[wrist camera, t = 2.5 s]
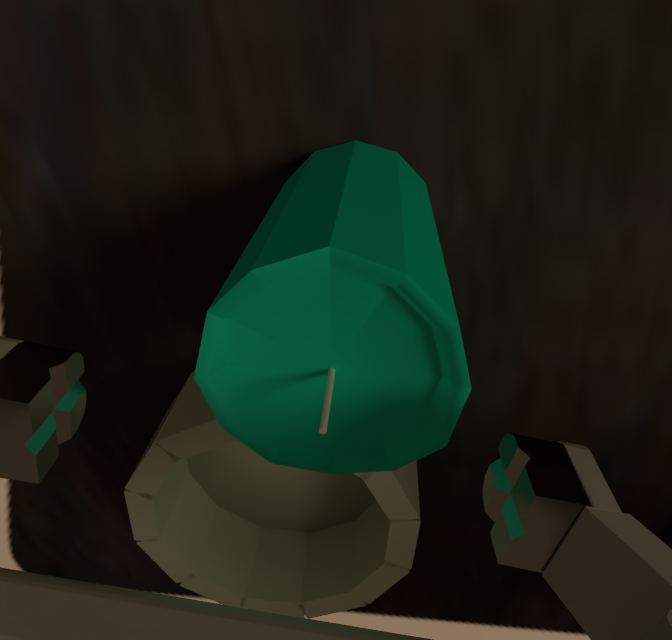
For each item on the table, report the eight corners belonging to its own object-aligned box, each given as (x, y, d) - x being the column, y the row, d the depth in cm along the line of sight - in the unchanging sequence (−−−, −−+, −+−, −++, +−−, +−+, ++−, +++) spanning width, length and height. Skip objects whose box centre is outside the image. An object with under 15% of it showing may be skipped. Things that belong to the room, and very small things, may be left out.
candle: (465, 194, 20) (555, 394, 9) (379, 314, 22) (375, 570, 12) (324, 107, 18) (246, 224, 8) (252, 245, 21) (127, 462, 11)
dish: (464, 432, 25) (479, 515, 21) (326, 561, 31) (317, 646, 27) (236, 300, 23) (203, 364, 18) (131, 467, 28) (88, 545, 24)
